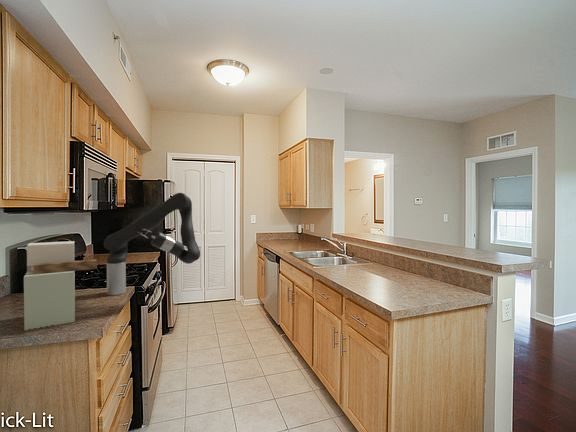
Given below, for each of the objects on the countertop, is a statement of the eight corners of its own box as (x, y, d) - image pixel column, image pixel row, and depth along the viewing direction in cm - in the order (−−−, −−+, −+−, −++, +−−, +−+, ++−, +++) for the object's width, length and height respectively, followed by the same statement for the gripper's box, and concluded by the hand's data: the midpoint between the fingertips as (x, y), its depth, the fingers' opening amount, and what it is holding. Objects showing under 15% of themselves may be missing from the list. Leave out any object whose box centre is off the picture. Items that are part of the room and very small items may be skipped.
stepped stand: (30, 315, 134) (29, 243, 133) (74, 308, 143) (74, 241, 142) (24, 330, 117) (23, 248, 116) (74, 321, 127) (74, 245, 126)
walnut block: (96, 267, 136) (96, 259, 136) (97, 268, 133) (97, 260, 133) (28, 273, 123) (28, 264, 123) (27, 275, 120) (26, 265, 120)
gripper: (164, 234, 161) (134, 219, 153) (170, 236, 149) (139, 220, 141) (156, 246, 159) (126, 232, 151) (162, 250, 147) (130, 234, 139)
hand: (132, 226), depth 146 cm, fingers open, 8 cm apart
